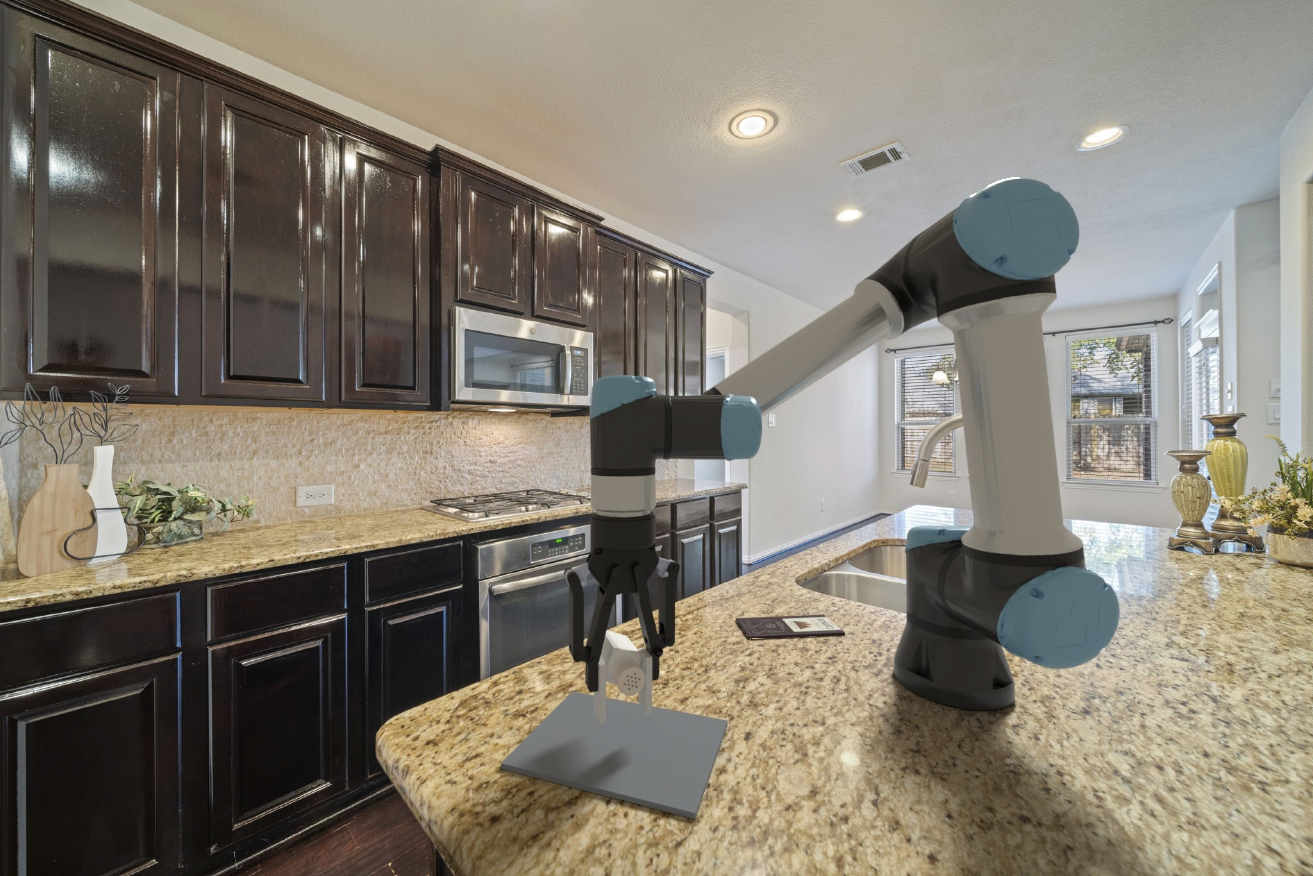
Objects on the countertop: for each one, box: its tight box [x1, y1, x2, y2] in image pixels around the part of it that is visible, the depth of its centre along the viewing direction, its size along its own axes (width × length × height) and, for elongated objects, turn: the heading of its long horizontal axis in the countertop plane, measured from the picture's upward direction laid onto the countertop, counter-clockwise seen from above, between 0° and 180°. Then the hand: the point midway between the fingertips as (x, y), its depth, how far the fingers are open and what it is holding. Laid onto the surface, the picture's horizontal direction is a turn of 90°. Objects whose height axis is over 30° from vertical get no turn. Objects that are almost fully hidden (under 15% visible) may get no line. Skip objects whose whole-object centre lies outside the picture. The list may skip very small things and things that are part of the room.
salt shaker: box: [601, 630, 646, 697], centre depth 58 cm, size 4×4×10 cm
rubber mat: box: [500, 690, 729, 820], centre depth 58 cm, size 22×16×1 cm
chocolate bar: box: [735, 614, 846, 640], centre depth 93 cm, size 9×1×18 cm
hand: (622, 711), depth 57 cm, fingers closed on salt shaker, 5 cm apart
